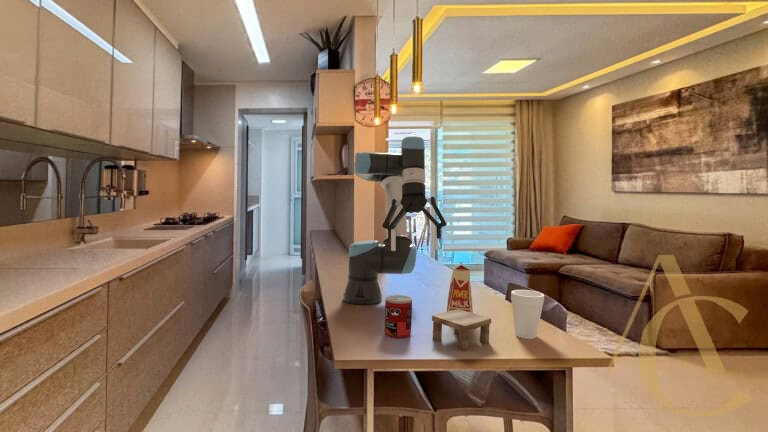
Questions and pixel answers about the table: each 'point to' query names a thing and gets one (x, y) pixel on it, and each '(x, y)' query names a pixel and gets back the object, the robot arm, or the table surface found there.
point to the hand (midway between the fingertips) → (414, 250)
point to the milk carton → (460, 290)
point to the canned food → (398, 316)
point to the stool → (461, 325)
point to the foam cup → (526, 312)
